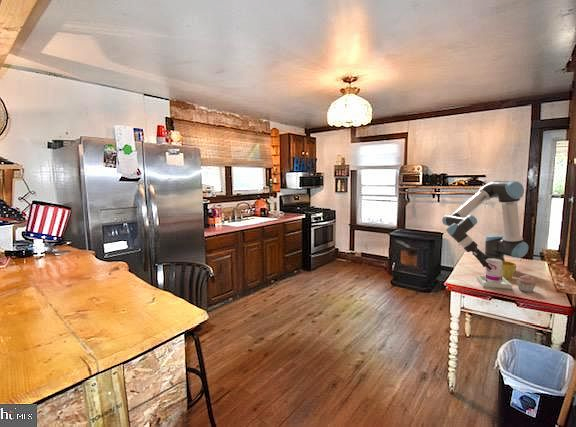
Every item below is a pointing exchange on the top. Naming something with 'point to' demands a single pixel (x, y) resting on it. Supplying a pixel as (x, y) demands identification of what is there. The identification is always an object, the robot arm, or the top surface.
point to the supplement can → (498, 267)
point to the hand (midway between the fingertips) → (495, 270)
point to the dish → (503, 285)
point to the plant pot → (508, 269)
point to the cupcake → (526, 283)
